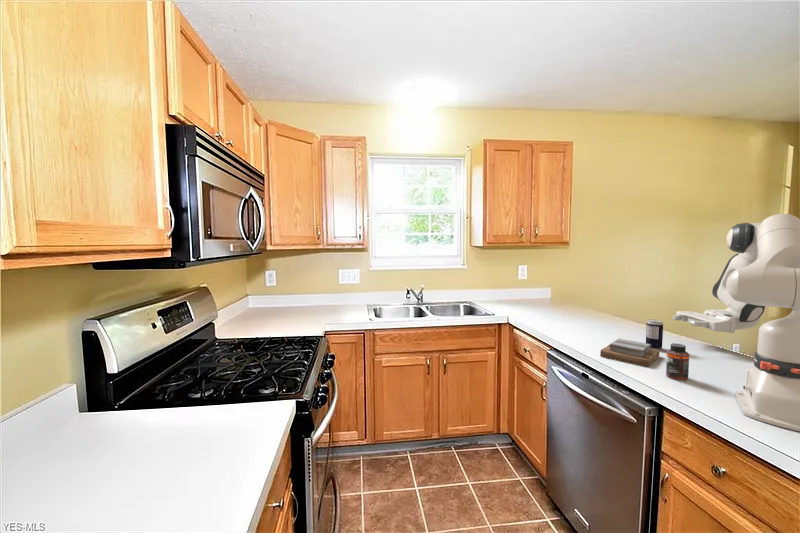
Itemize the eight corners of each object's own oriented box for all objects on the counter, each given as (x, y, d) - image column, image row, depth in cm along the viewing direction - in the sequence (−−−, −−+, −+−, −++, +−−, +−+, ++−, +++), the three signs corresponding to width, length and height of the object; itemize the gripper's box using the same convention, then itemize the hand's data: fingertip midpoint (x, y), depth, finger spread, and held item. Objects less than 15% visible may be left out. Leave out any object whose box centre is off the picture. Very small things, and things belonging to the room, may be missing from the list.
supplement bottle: (689, 377, 118) (691, 344, 117) (686, 382, 114) (688, 349, 113) (667, 372, 122) (668, 341, 121) (664, 377, 118) (665, 345, 117)
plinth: (648, 367, 127) (648, 353, 127) (600, 356, 139) (600, 344, 139) (659, 356, 138) (659, 344, 137) (613, 347, 150) (614, 335, 149)
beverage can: (664, 350, 144) (666, 322, 143) (649, 350, 145) (650, 322, 144) (657, 346, 149) (659, 319, 148) (642, 346, 151) (644, 318, 150)
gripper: (694, 307, 157) (664, 308, 157) (739, 318, 137) (705, 319, 137) (693, 320, 158) (663, 321, 158) (738, 334, 138) (704, 335, 137)
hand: (683, 320), depth 147 cm, fingers open, 8 cm apart
